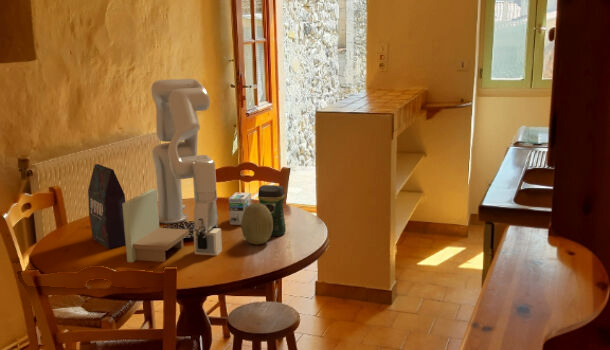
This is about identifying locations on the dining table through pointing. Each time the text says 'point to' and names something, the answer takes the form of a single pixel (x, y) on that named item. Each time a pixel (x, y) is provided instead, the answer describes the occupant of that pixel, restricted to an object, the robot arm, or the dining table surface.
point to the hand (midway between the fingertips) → (208, 244)
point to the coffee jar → (274, 206)
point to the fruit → (257, 223)
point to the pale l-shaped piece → (148, 230)
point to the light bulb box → (238, 206)
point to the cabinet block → (210, 242)
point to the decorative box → (106, 207)
